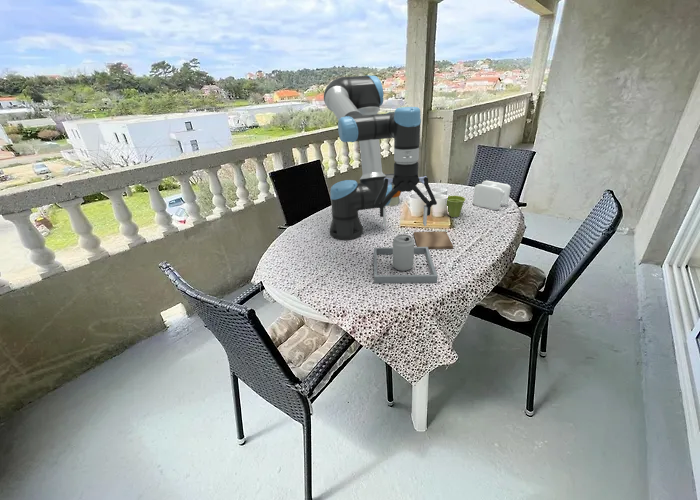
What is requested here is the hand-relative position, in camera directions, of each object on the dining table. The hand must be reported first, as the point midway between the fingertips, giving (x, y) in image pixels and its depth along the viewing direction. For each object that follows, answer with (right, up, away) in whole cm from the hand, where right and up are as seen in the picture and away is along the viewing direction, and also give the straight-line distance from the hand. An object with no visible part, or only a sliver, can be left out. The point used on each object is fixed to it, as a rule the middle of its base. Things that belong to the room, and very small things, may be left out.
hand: (404, 224), depth 107 cm
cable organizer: (+54, +15, +57) cm, 80 cm away
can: (+1, -15, +8) cm, 17 cm away
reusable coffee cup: (+4, +18, +68) cm, 70 cm away
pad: (+16, -5, +25) cm, 30 cm away
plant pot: (+33, +9, +48) cm, 59 cm away
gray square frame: (+1, -15, +8) cm, 17 cm away
